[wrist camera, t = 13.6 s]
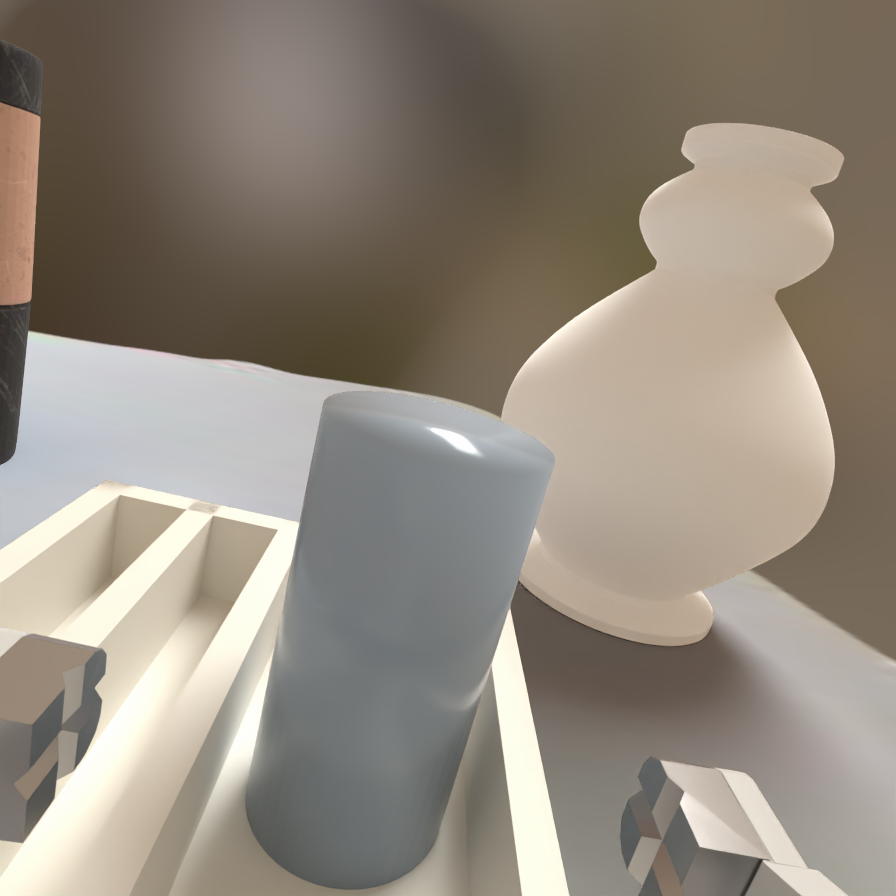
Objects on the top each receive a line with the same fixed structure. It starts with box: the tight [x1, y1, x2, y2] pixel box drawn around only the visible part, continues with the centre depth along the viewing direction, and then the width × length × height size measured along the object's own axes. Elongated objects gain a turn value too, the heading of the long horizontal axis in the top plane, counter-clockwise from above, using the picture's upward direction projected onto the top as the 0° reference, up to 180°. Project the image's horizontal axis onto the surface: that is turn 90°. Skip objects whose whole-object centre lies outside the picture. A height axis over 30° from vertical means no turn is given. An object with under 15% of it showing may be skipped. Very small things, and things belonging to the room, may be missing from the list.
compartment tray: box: [0, 480, 569, 896], centre depth 17 cm, size 16×18×5 cm
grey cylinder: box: [245, 391, 555, 890], centre depth 16 cm, size 6×6×11 cm
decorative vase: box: [501, 123, 844, 646], centre depth 35 cm, size 18×18×25 cm
